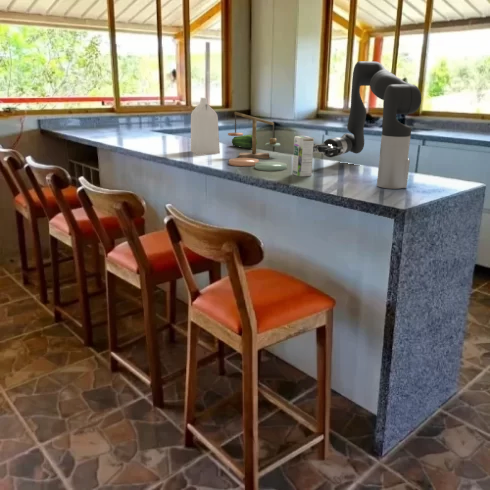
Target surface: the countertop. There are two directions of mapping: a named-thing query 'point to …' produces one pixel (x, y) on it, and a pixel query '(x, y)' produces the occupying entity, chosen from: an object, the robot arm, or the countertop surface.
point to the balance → (254, 154)
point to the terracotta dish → (243, 161)
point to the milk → (204, 129)
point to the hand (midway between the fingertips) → (315, 151)
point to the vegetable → (243, 141)
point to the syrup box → (303, 156)
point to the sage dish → (271, 166)
